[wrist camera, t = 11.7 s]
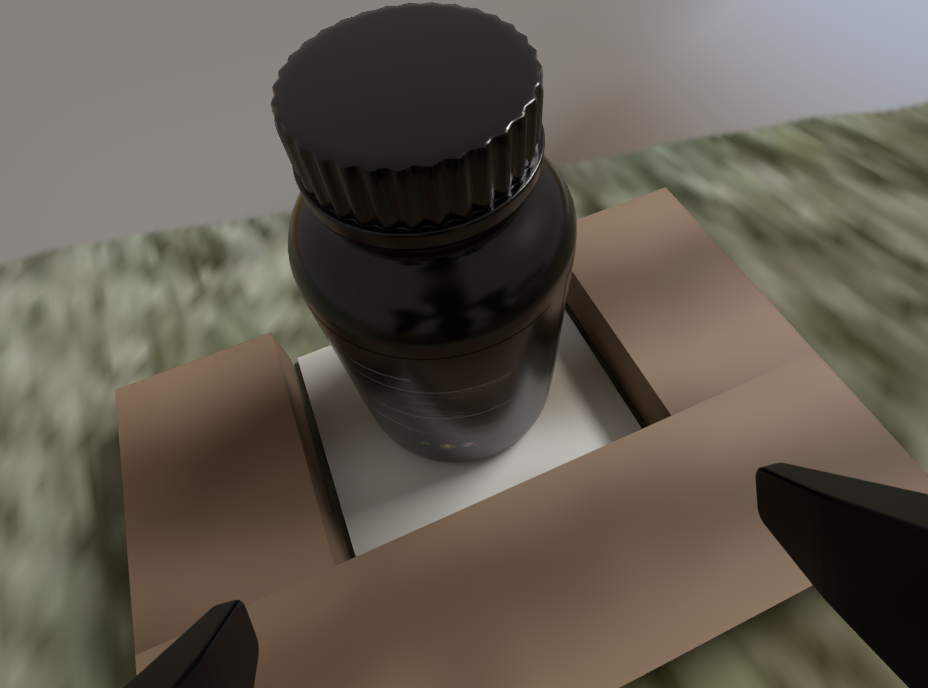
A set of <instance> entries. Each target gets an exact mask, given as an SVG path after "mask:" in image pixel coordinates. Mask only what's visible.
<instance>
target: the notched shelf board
mask: <svg viewBox="0 0 928 688" xmlns="http://www.w3.org/2000/svg"><path fill="white" fill-rule="evenodd" d="M566 303H567V304H568V306H569V307H570V309H571V310H572V312H573V313H574V315H575V316H576V318H577V320H578V321H579V323H580V324H581V326H582V327H583V329H584V330H585V332H586V333H587V335H588V336H589V338H590V339H591V341H592V342H593V344H594V346H595V347H596V349H597V350H598V352H599V353H600V355H601V356H602V358H603V359H604V361H605V362H606V364H607V365H608V367H609V369H610V370H611V372H612V373H613V375H614V376H615V378H616V379H617V381H618V382H619V384H620V385H621V387H622V388H623V390H624V391H625V393H626V395H627V396H628V398H629V399H630V401H631V402H632V404H633V405H634V407H635V408H636V410H637V411H638V413H639V414H640V416H641V417H642V419H643V421H644V422H645V424H646V425H647V427H645V428H643V429H642V428H641V426H640V425H639V423H638V422H637V420H636V419H635V417H634V416H633V414H632V413H631V411H630V409H629V408H628V406H627V405H626V403H625V402H624V400H623V399H622V397H621V395H620V394H619V392H618V391H617V389H616V388H615V386H614V385H613V383H612V382H611V380H610V378H609V377H608V375H607V374H606V372H605V371H604V369H603V368H602V366H601V365H600V363H599V361H598V360H597V358H596V357H595V355H594V354H593V352H592V351H591V349H590V347H589V346H588V344H587V343H586V341H585V340H584V338H583V337H582V335H581V334H580V332H579V330H578V329H577V327H576V326H575V324H574V323H573V321H572V320H571V318H570V317H569V315H568V313H567V312H566V310H565V312H564V318H563V323H562V329H561V334H560V340H559V345H558V351H557V356H556V362H555V367H554V373H553V378H552V382H551V387H550V391H549V395H548V398H547V401H546V403H545V406H544V408H543V410H542V412H541V414H540V416H539V417H538V419H537V420H536V422H535V423H534V425H533V426H532V427H531V428H530V429H529V431H528V432H527V433H526V434H525V435H523V436H522V437H521V438H520V439H519V440H518V441H516V442H515V443H514V444H512V445H511V446H509V447H508V448H506V449H504V450H502V451H500V452H498V453H496V454H494V455H491V456H489V457H486V458H482V459H479V460H474V461H468V462H443V461H436V460H431V459H427V458H424V457H421V456H419V455H416V454H414V453H412V452H410V451H408V450H406V449H404V448H403V447H401V446H400V445H398V444H397V443H396V442H395V441H393V440H392V439H391V438H390V437H389V436H388V435H387V434H386V433H385V432H384V431H383V430H382V428H381V427H380V426H379V424H378V423H377V422H376V420H375V419H374V417H373V415H372V414H371V413H370V411H369V409H368V408H367V406H366V404H365V402H364V401H363V399H362V397H361V396H360V394H359V392H358V391H357V389H356V387H355V385H354V384H353V382H352V380H351V379H350V377H349V375H348V373H347V372H346V370H345V368H344V367H343V365H342V363H341V362H340V360H339V358H338V356H337V355H336V353H335V351H334V350H333V348H332V346H331V345H330V346H328V347H325V348H322V349H320V350H317V351H314V352H312V353H309V354H307V355H304V356H301V357H299V358H298V362H299V365H300V368H301V372H302V375H303V379H304V382H305V386H306V389H307V392H308V396H309V399H310V403H311V406H312V409H313V413H314V416H315V420H316V423H317V427H318V430H319V433H320V437H321V440H322V444H323V447H324V450H325V454H326V457H327V461H328V464H329V468H330V471H331V474H332V478H333V481H334V485H335V488H336V491H337V495H338V498H339V502H340V505H341V508H342V512H343V515H344V519H345V522H346V526H347V529H348V532H349V536H350V539H351V543H352V546H353V549H354V553H355V556H356V557H354V558H352V559H350V560H347V556H346V552H345V549H344V545H343V542H342V538H341V535H340V531H339V528H338V524H337V521H336V517H335V514H334V510H333V507H332V503H331V500H330V496H329V493H328V489H327V486H326V482H325V479H324V475H323V472H322V468H321V465H320V461H319V458H318V454H317V450H316V447H315V443H314V440H313V436H312V433H311V429H310V426H309V422H308V419H307V415H306V412H305V408H304V405H303V401H302V398H301V394H300V391H299V387H298V384H297V380H296V377H295V373H294V370H293V366H292V363H291V359H290V358H289V356H288V355H287V354H286V352H285V351H284V349H283V348H282V347H281V345H280V344H279V342H278V341H277V340H276V338H275V337H274V335H273V334H272V333H268V334H266V335H263V336H260V337H257V338H255V339H252V340H249V341H247V342H244V343H241V344H238V345H236V346H233V347H230V348H228V349H225V350H222V351H219V352H217V353H214V354H211V355H209V356H206V357H203V358H200V359H198V360H195V361H192V362H190V363H187V364H184V365H181V366H179V367H176V368H173V369H171V370H168V371H165V372H162V373H160V374H157V375H154V376H151V377H149V378H146V379H143V380H141V381H138V382H135V383H132V384H130V385H127V386H124V387H122V388H119V389H116V390H115V394H116V407H117V421H118V434H119V447H120V461H121V474H122V488H123V501H124V514H125V528H126V541H127V554H128V568H129V581H130V594H131V608H132V621H133V634H134V648H135V661H136V674H137V675H138V674H139V673H140V672H141V671H142V670H143V669H144V668H146V667H147V666H148V665H149V664H150V663H151V662H152V661H153V660H154V659H156V658H157V657H158V656H159V655H160V654H161V653H162V652H163V651H164V650H166V649H167V648H168V647H169V646H170V645H171V644H172V643H173V642H174V641H176V640H177V639H178V638H179V637H180V636H181V635H182V634H183V633H184V632H185V631H187V630H188V629H189V628H190V627H191V626H192V625H193V624H194V623H195V622H197V621H198V620H199V619H200V618H201V617H202V616H203V615H204V614H205V613H207V612H208V611H209V610H210V609H211V608H212V607H213V606H215V605H217V604H221V603H225V602H229V601H233V600H240V601H242V602H243V603H244V604H245V606H246V609H247V611H248V614H249V617H250V620H251V622H252V625H253V628H254V630H255V633H256V636H257V639H258V644H259V657H258V664H257V671H256V678H255V685H254V688H620V687H622V686H624V685H626V684H628V683H630V682H631V681H633V680H635V679H637V678H639V677H641V676H643V675H645V674H646V673H648V672H650V671H652V670H654V669H656V668H658V667H660V666H662V665H663V664H665V663H667V662H669V661H671V660H673V659H675V658H677V657H679V656H680V655H682V654H684V653H686V652H688V651H690V650H692V649H694V648H695V647H697V646H699V645H701V644H703V643H705V642H707V641H709V640H711V639H712V638H714V637H716V636H718V635H720V634H722V633H724V632H726V631H727V630H729V629H731V628H733V627H735V626H737V625H739V624H741V623H743V622H744V621H746V620H748V619H750V618H752V617H754V616H756V615H758V614H759V613H761V612H763V611H765V610H767V609H769V608H771V607H773V606H775V605H776V604H778V603H780V602H782V601H784V600H786V599H788V598H790V597H792V596H793V595H795V594H797V593H799V592H801V591H803V590H805V589H807V588H808V587H810V586H812V584H811V582H810V581H809V580H808V579H807V577H806V576H805V575H804V574H803V572H802V571H801V570H800V569H799V567H798V566H797V565H796V564H795V562H794V561H793V560H792V559H791V557H790V556H789V555H788V554H787V552H786V551H785V550H784V549H783V547H782V546H781V545H780V544H779V542H778V541H777V540H776V538H775V537H774V536H773V535H772V533H771V532H770V531H769V530H768V528H767V527H766V526H765V525H764V523H763V522H762V520H761V518H760V516H759V513H758V508H757V495H756V481H755V474H756V471H757V469H758V468H759V467H762V466H766V465H770V464H774V463H780V462H782V463H787V464H792V465H796V466H801V467H805V468H810V469H815V470H819V471H824V472H828V473H833V474H838V475H842V476H847V477H852V478H856V479H861V480H865V481H870V482H875V483H879V484H884V485H888V486H893V487H898V488H902V489H907V490H911V491H916V492H921V493H925V494H928V475H927V474H926V473H925V471H924V470H923V469H922V468H921V467H920V466H919V465H918V464H917V463H916V462H915V460H914V459H913V458H912V457H911V456H910V455H909V454H908V453H907V452H906V451H905V450H904V448H903V447H902V446H901V445H900V444H899V443H898V442H897V441H896V440H895V439H894V437H893V436H892V435H891V434H890V433H889V432H888V431H887V430H886V429H885V428H884V426H883V425H882V424H881V423H880V422H879V421H878V420H877V419H876V418H875V417H874V415H873V414H872V413H871V412H870V411H869V410H868V409H867V408H866V407H865V406H864V405H863V403H862V402H861V401H860V400H859V399H858V398H857V397H856V396H855V395H854V394H853V392H852V391H851V390H850V389H849V388H848V387H847V386H846V385H845V384H844V383H843V381H842V380H841V379H840V378H839V377H838V376H837V375H836V374H835V373H834V372H833V370H832V369H831V368H830V367H829V366H828V365H827V364H826V363H825V362H824V361H823V360H822V358H821V357H820V356H819V355H818V354H817V353H816V352H815V351H814V350H813V349H812V347H811V346H810V345H809V344H808V343H807V342H806V341H805V340H804V339H803V338H802V336H801V335H800V334H799V333H798V332H797V331H796V330H795V329H794V328H793V327H792V325H791V324H790V323H789V322H788V321H787V320H786V319H785V318H784V317H783V316H782V315H781V313H780V312H779V311H778V310H777V309H776V308H775V307H774V306H773V305H772V304H771V302H770V301H769V300H768V299H767V298H766V297H765V296H764V295H763V294H762V293H761V291H760V290H759V289H758V288H757V287H756V286H755V285H754V284H753V283H752V282H751V280H750V279H749V278H748V277H747V276H746V275H745V274H744V273H743V272H742V271H741V270H740V268H739V267H738V266H737V265H736V264H735V263H734V262H733V261H732V260H731V259H730V257H729V256H728V255H727V254H726V253H725V252H724V251H723V250H722V249H721V248H720V246H719V245H718V244H717V243H716V242H715V241H714V240H713V239H712V238H711V237H710V235H709V234H708V233H707V232H706V231H705V230H704V229H703V228H702V227H701V226H700V225H699V223H698V222H697V221H696V220H695V219H694V218H693V217H692V216H691V215H690V214H689V212H688V211H687V210H686V209H685V208H684V207H683V206H682V205H681V204H680V203H679V201H678V200H677V199H676V198H675V197H674V196H673V195H672V194H671V193H670V192H669V190H668V189H667V188H666V187H665V188H662V189H660V190H657V191H654V192H652V193H649V194H646V195H643V196H641V197H638V198H635V199H633V200H630V201H627V202H624V203H622V204H619V205H616V206H614V207H611V208H608V209H605V210H603V211H600V212H597V213H595V214H592V215H589V216H586V217H584V218H581V219H578V220H577V240H576V250H575V256H574V262H573V268H572V274H571V279H570V285H569V290H568V296H567V301H566Z"/></svg>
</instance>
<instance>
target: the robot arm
mask: <svg viewBox="0 0 928 688" xmlns="http://www.w3.org/2000/svg"><path fill="white" fill-rule="evenodd" d="M755 481H756V495H757V508H758V513H759V516H760V518H761V520H762V522H763V523H764V525H765V526H766V527H767V528H768V530H769V531H770V532H771V533H772V535H773V536H774V537H775V538H776V540H777V541H778V542H779V544H780V545H781V546H782V547H783V549H784V550H785V551H786V552H787V554H788V555H789V556H790V557H791V559H792V560H793V561H794V562H795V564H796V565H797V566H798V567H799V569H800V570H801V571H802V572H803V574H804V575H805V576H806V577H807V579H808V580H809V581H810V582H811V584H812V585H813V586H814V587H815V589H816V590H817V591H818V592H819V593H820V594H821V596H822V597H823V598H824V599H825V600H826V601H827V602H828V603H829V605H830V606H831V607H832V608H833V609H834V610H835V611H836V612H837V613H838V614H839V615H840V616H841V617H842V618H843V620H844V621H845V622H846V623H847V624H848V625H849V626H850V627H851V628H852V629H853V630H854V631H855V632H856V633H857V634H858V635H859V636H860V637H861V638H862V639H863V640H864V641H865V643H866V644H867V645H868V646H869V647H870V648H871V649H872V650H873V651H874V652H875V653H876V654H877V655H878V656H879V657H880V658H881V659H882V660H883V661H884V662H885V663H886V665H887V666H888V667H889V668H890V669H891V670H892V671H893V672H894V673H895V674H896V675H897V676H898V677H899V678H900V679H901V680H902V681H903V682H904V683H905V684H906V685H907V686H908V688H928V494H925V493H921V492H916V491H911V490H907V489H902V488H898V487H893V486H888V485H884V484H879V483H875V482H870V481H865V480H861V479H856V478H852V477H847V476H842V475H838V474H833V473H828V472H824V471H819V470H815V469H810V468H805V467H801V466H796V465H792V464H787V463H782V462H780V463H774V464H770V465H766V466H762V467H759V468H758V469H757V471H756V474H755ZM258 657H259V644H258V639H257V636H256V633H255V630H254V628H253V625H252V622H251V620H250V617H249V614H248V611H247V609H246V606H245V604H244V603H243V602H242V601H240V600H233V601H229V602H225V603H221V604H217V605H215V606H213V607H212V608H211V609H210V610H209V611H208V612H207V613H205V614H204V615H203V616H202V617H201V618H200V619H199V620H198V621H197V622H195V623H194V624H193V625H192V626H191V627H190V628H189V629H188V630H187V631H185V632H184V633H183V634H182V635H181V636H180V637H179V638H178V639H177V640H176V641H174V642H173V643H172V644H171V645H170V646H169V647H168V648H167V649H166V650H164V651H163V652H162V653H161V654H160V655H159V656H158V657H157V658H156V659H154V660H153V661H152V662H151V663H150V664H149V665H148V666H147V667H146V668H144V669H143V670H142V671H141V672H140V673H139V674H138V675H137V676H136V677H135V678H133V679H132V680H131V681H130V682H129V683H128V684H127V685H126V686H125V687H123V688H254V685H255V678H256V671H257V664H258Z"/></svg>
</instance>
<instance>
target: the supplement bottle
mask: <svg viewBox="0 0 928 688" xmlns="http://www.w3.org/2000/svg"><path fill="white" fill-rule="evenodd" d="M537 59H538V58H537V51H536V49H534V48H533V47H532V46H531V45H529V44H528V40H527V36H525V35H523V34H522V33H520V32H518V31H516V29H515V27H514V26H513V24H510V23H507V22H504V21H501V20H500V19H499V17H497V16H496V15H492V14H488V13H484V12H482V11H480V10H478V9H477V8H465V7H462V6H459V5H456V4H438V3H434V2H431V3H423V4H416V3H408V4H403V5H399V6H385V7H383V8H380V9H377V10H374V11H366V12H362V13H360V14H358V15H356V16H355V17H351V18H347V19H344V20H341V21H340V22H338V23H337V24H335V25H334V26H331V27H329V28H326V29H323V30H321V31H320V32H319V33H318V34H317V35H316V36H315V37H314V38H311V39H309V40H307V41H306V42H304V43H303V44H302V46H301V47H300V49H299V50H297V51H296V52H294V53H293V54H291V55H290V56H289V58H288V62H287V63H286V64H285V65H284V66H283V67H282V68H281V69H280V70H279V73H278V76H279V79H278V80H277V81H276V82H275V84H274V85H273V87H272V88H273V93H274V97H273V99H272V102H271V107H272V112H273V115H274V117H275V119H274V121H275V126H276V129H277V132H278V134H279V137H280V139H281V141H282V143H283V146H284V148H285V150H286V152H287V155H288V157H289V159H290V161H291V164H292V167H293V173H294V177H295V180H296V183H297V185H298V187H299V189H300V193H299V195H298V197H297V200H296V203H295V205H294V208H293V212H292V216H291V220H290V225H289V233H288V253H289V261H290V266H291V269H292V273H293V276H294V279H295V281H296V283H297V286H298V288H299V290H300V292H301V294H302V296H303V298H304V300H305V302H306V304H307V305H308V307H309V309H310V310H311V312H312V314H313V316H314V317H315V319H316V321H317V322H318V324H319V326H320V328H321V329H322V331H323V333H324V334H325V336H326V338H327V339H328V341H329V343H330V345H331V346H332V348H333V350H334V351H335V353H336V355H337V356H338V358H339V360H340V362H341V363H342V365H343V367H344V368H345V370H346V372H347V373H348V375H349V377H350V379H351V380H352V382H353V384H354V385H355V387H356V389H357V391H358V392H359V394H360V396H361V397H362V399H363V401H364V402H365V404H366V406H367V408H368V409H369V411H370V413H371V414H372V415H373V417H374V419H375V420H376V422H377V423H378V424H379V426H380V427H381V428H382V430H383V431H384V432H385V433H386V434H387V435H388V436H389V437H390V438H391V439H392V440H393V441H395V442H396V443H397V444H398V445H400V446H401V447H403V448H404V449H406V450H408V451H410V452H412V453H414V454H416V455H419V456H421V457H424V458H427V459H431V460H436V461H443V462H468V461H474V460H479V459H482V458H486V457H489V456H491V455H494V454H496V453H498V452H500V451H502V450H504V449H506V448H508V447H509V446H511V445H512V444H514V443H515V442H516V441H518V440H519V439H520V438H521V437H522V436H523V435H525V434H526V433H527V432H528V431H529V429H530V428H531V427H532V426H533V425H534V423H535V422H536V420H537V419H538V417H539V416H540V414H541V412H542V410H543V408H544V406H545V403H546V401H547V398H548V395H549V391H550V387H551V382H552V378H553V373H554V367H555V362H556V356H557V351H558V345H559V340H560V334H561V329H562V323H563V318H564V312H565V307H566V301H567V296H568V290H569V285H570V279H571V274H572V268H573V262H574V256H575V250H576V240H577V219H576V211H575V207H574V203H573V199H572V196H571V194H570V191H569V189H568V186H567V184H566V182H565V180H564V179H563V177H562V175H561V173H560V172H559V170H558V169H557V167H556V166H555V165H554V163H553V162H552V161H551V159H550V158H549V157H548V156H547V155H546V154H545V153H544V149H545V134H544V128H543V124H542V108H543V70H542V66H541V64H540V63H539V61H538V60H537Z"/></svg>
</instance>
